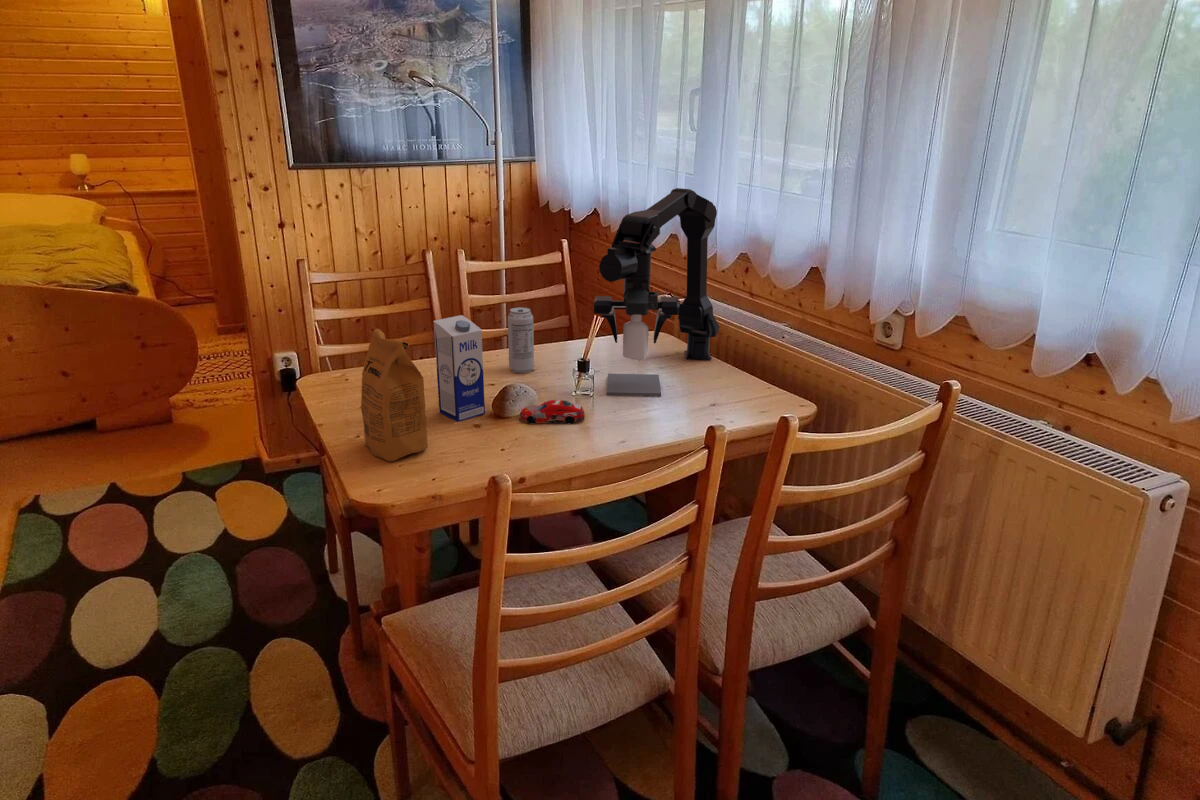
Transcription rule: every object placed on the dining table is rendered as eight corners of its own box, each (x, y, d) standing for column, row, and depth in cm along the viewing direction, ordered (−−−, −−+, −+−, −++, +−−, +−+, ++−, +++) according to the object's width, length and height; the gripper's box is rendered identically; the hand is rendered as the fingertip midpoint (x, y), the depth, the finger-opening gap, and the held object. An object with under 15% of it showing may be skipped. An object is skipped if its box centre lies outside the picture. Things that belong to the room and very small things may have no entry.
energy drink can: (533, 366, 191) (532, 306, 186) (534, 373, 186) (533, 312, 180) (508, 366, 190) (507, 307, 185) (509, 374, 185) (507, 313, 180)
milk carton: (466, 405, 166) (462, 313, 159) (485, 413, 161) (482, 320, 154) (438, 413, 161) (432, 319, 154) (457, 422, 156) (452, 326, 149)
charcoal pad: (607, 376, 184) (608, 373, 184) (658, 377, 184) (658, 374, 184) (607, 395, 172) (607, 392, 172) (661, 396, 172) (661, 393, 172)
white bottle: (636, 352, 179) (637, 302, 175) (650, 359, 175) (651, 307, 170) (620, 355, 177) (621, 304, 173) (634, 362, 173) (635, 309, 168)
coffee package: (406, 431, 152) (398, 322, 144) (435, 453, 143) (427, 337, 135) (357, 443, 146) (345, 330, 138) (383, 466, 137) (372, 347, 129)
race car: (518, 425, 156) (518, 407, 155) (521, 415, 161) (520, 397, 160) (584, 425, 156) (584, 407, 155) (584, 415, 162) (584, 397, 160)
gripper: (593, 281, 162) (592, 352, 167) (682, 282, 161) (679, 354, 167) (594, 270, 172) (594, 338, 178) (679, 271, 172) (675, 339, 177)
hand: (635, 342), depth 175 cm, fingers closed on white bottle, 8 cm apart
